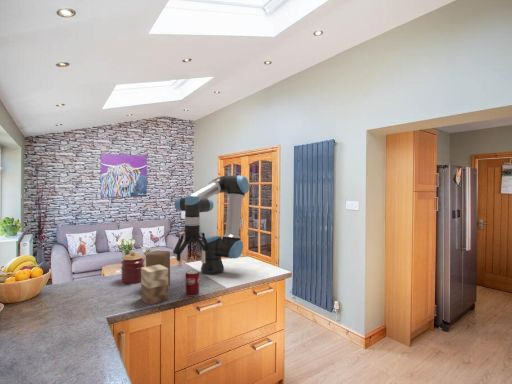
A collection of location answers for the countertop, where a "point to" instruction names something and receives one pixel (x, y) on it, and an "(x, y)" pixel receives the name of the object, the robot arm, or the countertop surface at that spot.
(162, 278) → the tower top
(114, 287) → the countertop surface
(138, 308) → the countertop surface
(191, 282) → the soda can
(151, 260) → the block
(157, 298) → the tower base
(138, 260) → the canister
